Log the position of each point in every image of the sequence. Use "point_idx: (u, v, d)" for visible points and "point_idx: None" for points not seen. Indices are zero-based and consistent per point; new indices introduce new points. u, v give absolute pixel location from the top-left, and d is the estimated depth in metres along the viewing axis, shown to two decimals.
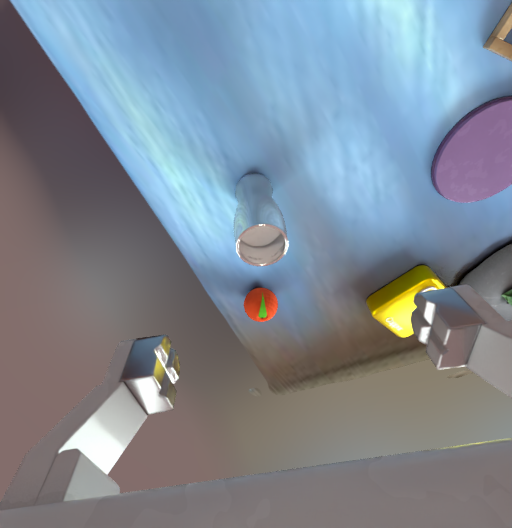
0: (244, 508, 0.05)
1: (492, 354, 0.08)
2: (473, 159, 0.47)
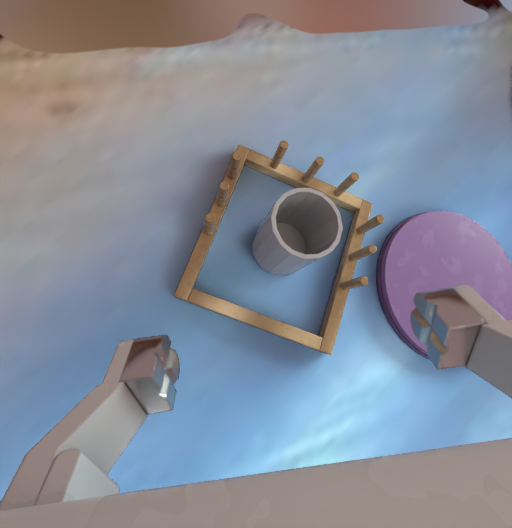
0: (244, 508, 0.05)
1: (492, 354, 0.08)
2: None
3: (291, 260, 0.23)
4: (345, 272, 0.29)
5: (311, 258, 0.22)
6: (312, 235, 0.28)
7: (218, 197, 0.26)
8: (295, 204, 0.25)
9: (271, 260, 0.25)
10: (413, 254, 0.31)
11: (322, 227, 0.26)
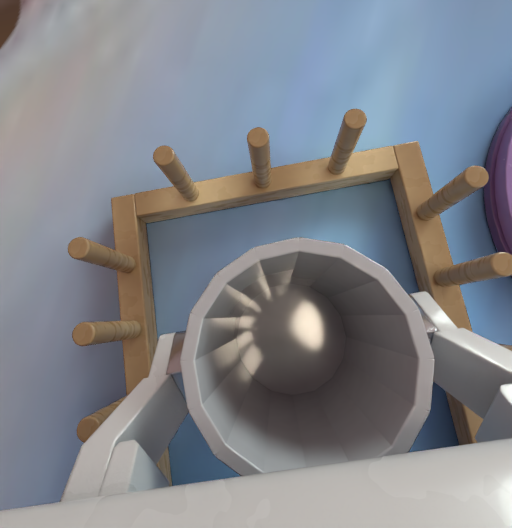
0: (244, 508, 0.05)
1: (444, 361, 0.08)
2: None
3: None
4: None
5: None
6: (337, 297, 0.12)
7: None
8: (255, 280, 0.09)
9: None
10: None
11: (349, 290, 0.10)
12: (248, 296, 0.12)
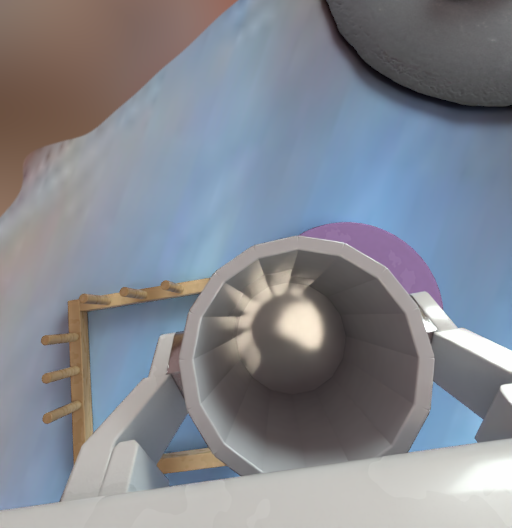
0: (244, 508, 0.05)
1: (444, 361, 0.08)
2: None
3: None
4: None
5: None
6: (337, 296, 0.12)
7: None
8: (254, 279, 0.09)
9: None
10: None
11: (349, 289, 0.10)
12: (247, 295, 0.12)
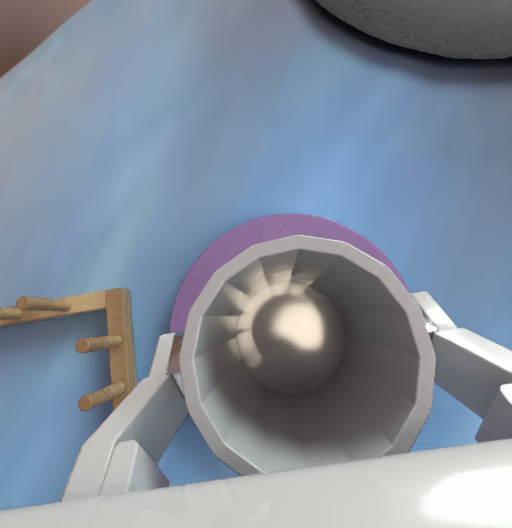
0: (244, 508, 0.05)
1: (444, 361, 0.08)
2: None
3: None
4: None
5: None
6: (337, 295, 0.12)
7: None
8: (255, 278, 0.09)
9: None
10: None
11: (349, 288, 0.10)
12: (248, 295, 0.12)
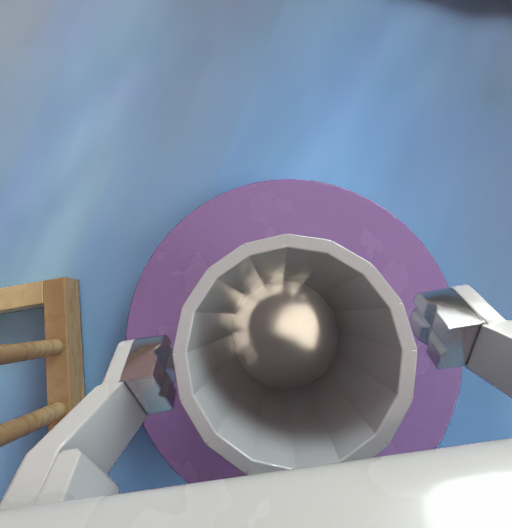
0: (244, 508, 0.05)
1: (492, 354, 0.08)
2: None
3: None
4: None
5: None
6: (329, 293, 0.12)
7: None
8: (247, 276, 0.10)
9: None
10: None
11: (339, 286, 0.10)
12: (242, 293, 0.12)
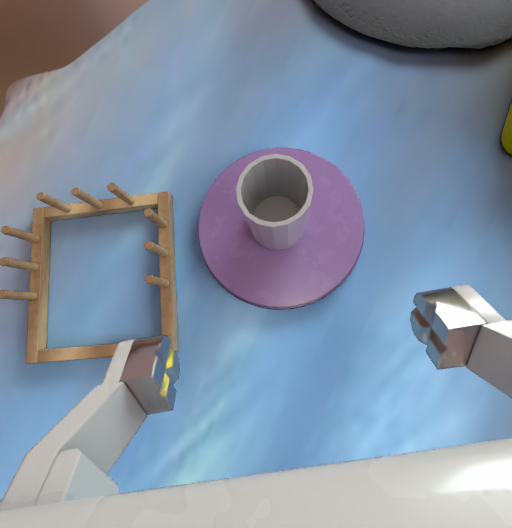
0: (244, 508, 0.05)
1: (492, 354, 0.08)
2: None
3: (279, 231, 0.23)
4: (162, 270, 0.30)
5: (293, 221, 0.21)
6: (297, 195, 0.27)
7: None
8: (261, 177, 0.25)
9: (267, 239, 0.25)
10: (225, 218, 0.30)
11: (298, 183, 0.25)
12: (258, 194, 0.27)
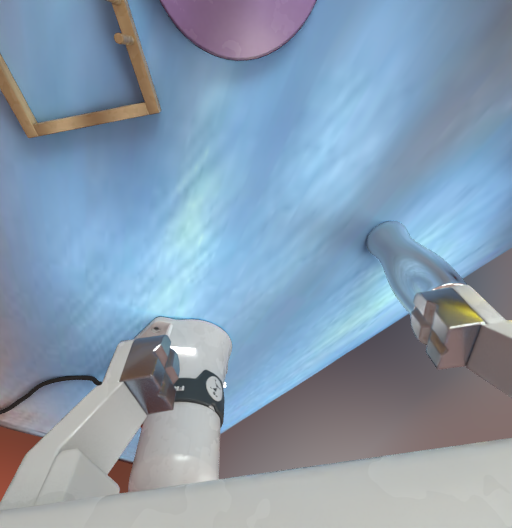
0: (244, 508, 0.05)
1: (492, 354, 0.08)
2: None
3: None
4: (122, 23, 0.28)
5: None
6: None
7: None
8: None
9: None
10: None
11: None
12: None
